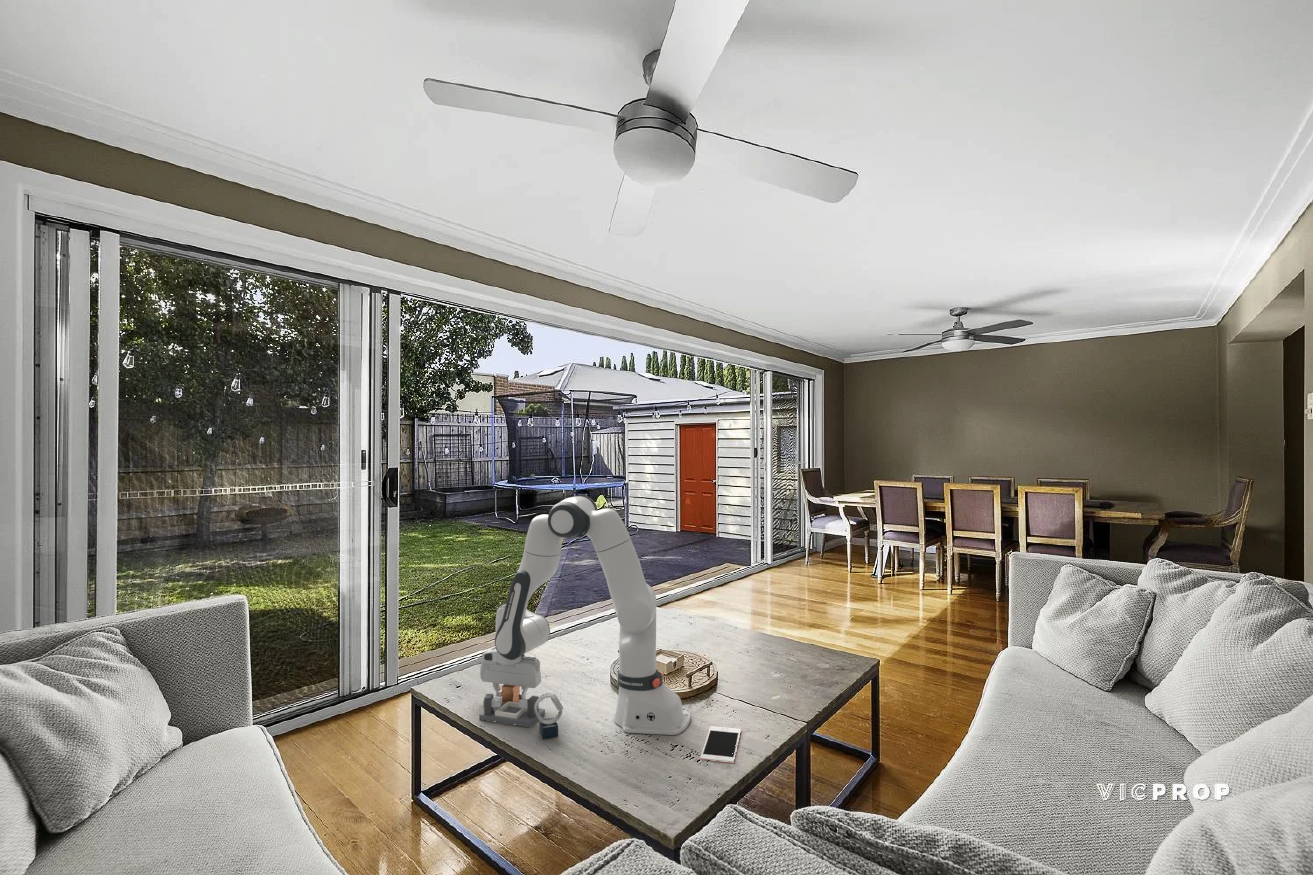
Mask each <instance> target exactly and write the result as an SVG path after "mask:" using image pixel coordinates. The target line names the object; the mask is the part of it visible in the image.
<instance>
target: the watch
mask: <svg viewBox="0 0 1313 875" xmlns="http://www.w3.org/2000/svg"><path fill="white" fill-rule="evenodd" d="M549 698H550V700H551V701H552V704H553V705H554V706H555V708H556V710H557V711H558V712H557V715H555V717H547V718H543V716H542V717H541V716H540V715H539V713H538V709H537V706H538V704H539V705H540V703H541V702H542V701H543V700H545V699H549ZM534 708H535V709H534V710H535V713H536V716H537V718H538V721H539V726H538V728H539V732H540V733H539V734H540V736H541V739H542V740H548V739H553V738H559V724H558V721H559V720H560V718H561V717H562V715H563V710H564V706H563V705H562V702H561V701H560V699H559V698H558V696H557V695H556V694H555V693H551V692H547V693H544V694H541V695H540V696H538V699H537V701H536V702H535V706H534Z"/></svg>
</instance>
